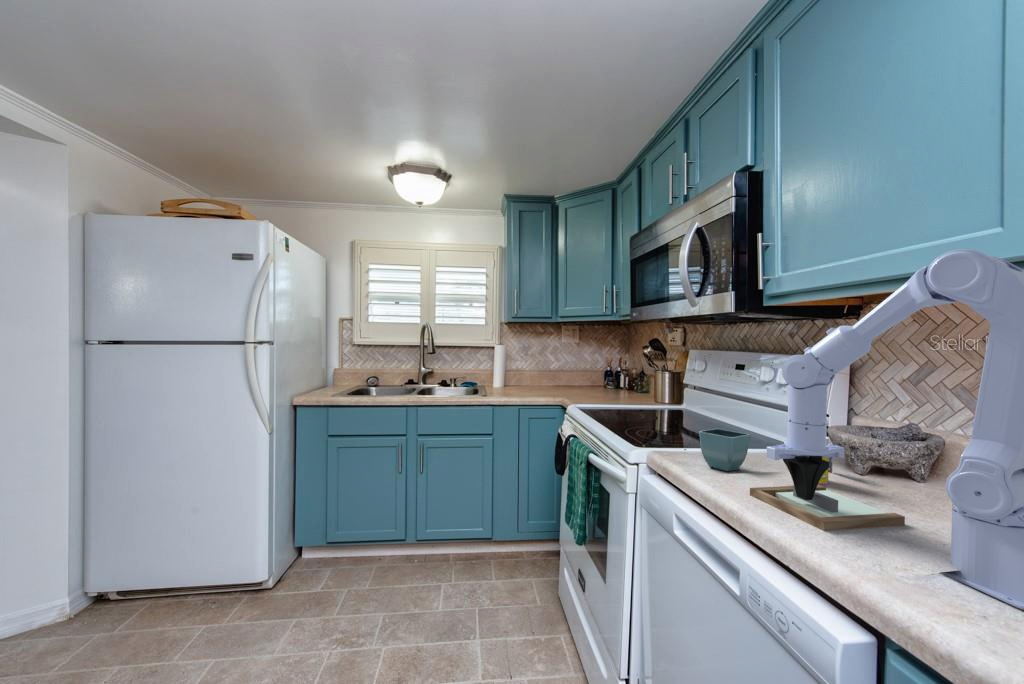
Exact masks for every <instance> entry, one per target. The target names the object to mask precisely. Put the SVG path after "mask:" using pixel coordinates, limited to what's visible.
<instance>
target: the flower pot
mask: <svg viewBox="0 0 1024 684" xmlns="http://www.w3.org/2000/svg"><path fill="white" fill-rule="evenodd" d="M698 434H699V443H700V444H699V445H700V451H701V454H702V457H703V459H704V461H705V462H706V464H707V465H708V467H710V468H712V467H713V468H714V469H716V470H717V469H718V470H721V471H723V472H730V471H736V470H739V469H740V467H741V466H742V465H743V463H744V462H745V460H746V458H747V454H748V451H749V450H748V449H749V446H750V445H749V444H750V438H751V434H748V433H744V432H740V431H739V432H738V431H733V430H727V429H723V428H722V429H721V428H712V429H706V430H699V431H698Z"/></svg>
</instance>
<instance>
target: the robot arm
mask: <svg viewBox="0 0 1024 684" xmlns="http://www.w3.org/2000/svg"><path fill="white" fill-rule="evenodd" d="M956 301H958V302H959V303H961V304H965V305H967V306H968V307H969V308H970V309H971V310H973V311H975V312H976V313H977V314H979V315H980V316H981V317H982V318H984V319H985V320H987V322H989V324H990V326H989V329H988V330H989V332H988V337H987V343H986V348H985V352H984V353H985V354H984V361H983V366H982V372H981V378H980V384H979V388H978V394H977V401H976V406H975V411H974V412H975V413H974V418H973V423H972V430H971V436H970V440H969V441H968V443H967V445H966V447H965V448H964V450H963V452H962V453H961V456H960V458H959V464H958V466H957V468H956V470H954V471H952V473H951V474H949V476H948V477H947V479H946V481H945V490H946V494H947V496H948V498H949V499H950V501H951V502H952V504H951V532H950V541H951V543H950V563H951V565H952V566H953V567H954V568H956V569H957V570H949V571H941V572H939V573H941V574H942V575H944V576H947V577H949V578H951V579H953V580H956V581H958V582H960V583H962V584H965V585H966V586H969V587H971V588H973V589H976V590H978V591H980V592H982V593H984V594H987V595H989V596H991V597H994V598H995V599H998V600H1000V601H1003V602H1004V603H1006V604H1009V605H1011V606H1014V607H1015V608H1018V609H1020V610H1023V611H1024V269H1023V268H1021V267H1019V266H1017V265H1016V264H1013V263H1011V262H1009V261H1007V260H1005V259H1003V258H1000V257H997V256H991V255H987V254H985V253H983V252H981V251H977V250H975V249H969V248H960V249H959V248H958V249H953V250H949V251H947V252H944V253H942V254H941V255H939V256H938V257H936V258H935V259H934V260H933V261H932V262H931V263H930V264H929V265H925V266H923V267H922V268H920V269H919V270H917V271H916V272H915V273H914V274H913V275H912V276H911V277H910V278H909V279H908V280H907V281H905V283H904V284H902V285H901V286H900V287H899V288H898V289H896V290H895V291H893V292H892V293H891V294H890V295H889V296H887V297H886V298H885V299H883V301H882V302H880V303H879V304H878V305H877V306H876V307H874V308H873V309H872V310H871V311H870V312H868V313H867V314H866V315H864V316H863V317H862V318H861V319H860V320H858V321H857V322H855V324H854V325H839V326H838V327H830V328H829V329H828V330H827V331H826V332H825V333H826V334H827V336H825V337H824V338H822V339H821V340H819V341H818V342H817V343H815V344H814V345H813V346H812V347H811V346H808V347H806V348H805V349H804V350H803V352H804V354H794V355H791V356H789V357H788V358H787V360H785V362H784V364H783V365H782V368H781V374H782V378H783V379H784V381H785V382H786V383H787V385H788V392H787V394H788V395H787V397H788V399H787V429H786V430H787V433H786V435H787V436H786V441H784V442H783V444H778V445H773V446H771V445H769V446H766V458H768V459H770V460H774V461H780V459H782V461H783V463H784V464H785V466H786V468H787V469H788V471H789V474H790V477H791V479H792V482H793V485H794V487H795V491H796V495H797V497H799V498H802V499H804V500H812V499H813V496H814V493H815V490H816V488H817V485H818V483H819V481H820V479H821V477H822V476H823V474H824V473H825V471H826V470H827V469H828V468H829V462H828V461H825V460H822V458H823V457H832V458H837V459H844V458H845V447H844V446H840V445H836V444H828V445H826V437H827V403H828V401H827V400H828V399H827V397H828V388H829V385H831V384H832V383H833V382H834V380H835V378H836V375H837V374H839V373H840V372H841V371H843V370H844V369H846V368H847V367H849V366H850V365H852V364H853V363H855V362H856V361H858V360H859V359H861V358H863V356H865V355H866V354H868V353H869V352H870V351H871V348H872V342H873V340H874V339H875V338H877V337H878V336H880V335H882V334H884V333H885V332H886V331H888V330H890V329H891V328H893V327H895V326H896V325H898V324H899V323H901V322H903V321H904V320H905V319H907V318H909V317H911V316H913V314H916V313H917V312H919V311H921V310H922V309H924V308H928V307H935V306H936V307H937V306H943V305H949V304H955V303H957V302H956Z"/></svg>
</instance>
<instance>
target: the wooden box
mask: <svg viewBox="0 0 1024 684" xmlns="http://www.w3.org/2000/svg"><path fill="white" fill-rule="evenodd" d="M820 490H827V487H826V486H825V485H817V488H816V490H815V491H820ZM778 492H793V485H786V486H785V485H784V486H783V485H782V486H781V485H780V486H763V487H761V486H759V487H749V496H751V497H752V498H754V499H756V500H758V501H760V502H762V503H765V504H766V505H769V506H771V507H773V508H776V509H777V510H780V511H782V512H783V513H786V514H787V515H789V516H791V517H794V518H796V519H798V520H800V521H802V522H805V523H806V524H808V525H811V526H812V527H814V528H816V529H819V530H821V531H823V532H826V531H840V530H857V529H858V530H859V529H869V528H884V527H886V528H887V527H899V526H900V527H902V526H905V524H906V523H905V522H906V519H905V518H906V516H904V515H901V514H898V513H896V512H888V513H883V514H867V515H851V516H835V517H818V516H816V515H814V514H811V513H809V512H807V511H805V510H803V509H800V508H798V507H796V506H794V505H792V504H789V503H787V502H785V501H783V500H781V499H778V498H776V493H778Z"/></svg>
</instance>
